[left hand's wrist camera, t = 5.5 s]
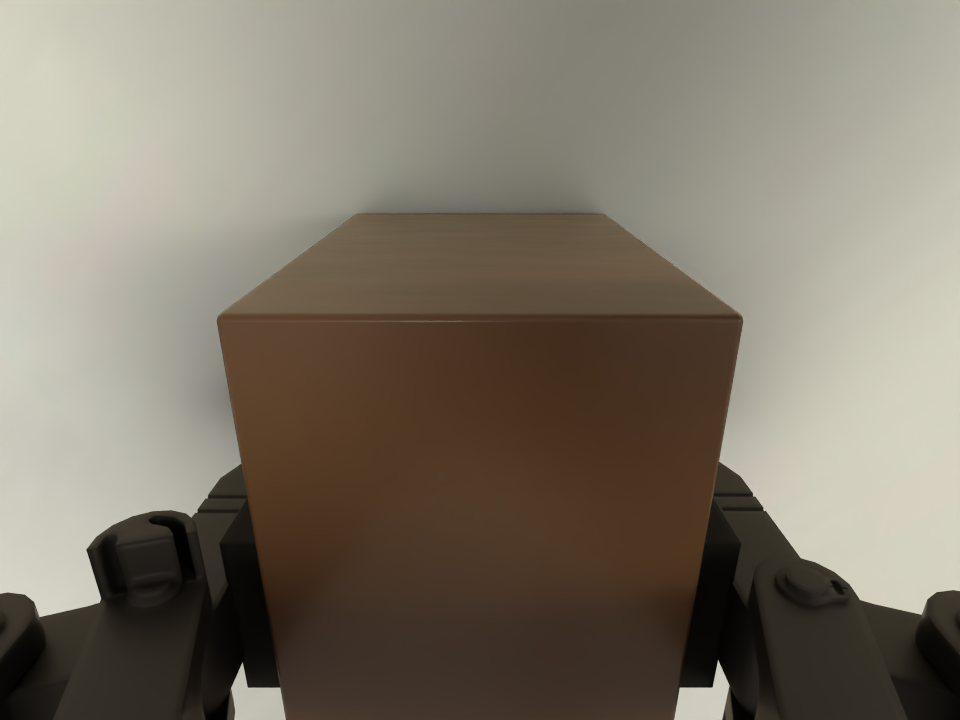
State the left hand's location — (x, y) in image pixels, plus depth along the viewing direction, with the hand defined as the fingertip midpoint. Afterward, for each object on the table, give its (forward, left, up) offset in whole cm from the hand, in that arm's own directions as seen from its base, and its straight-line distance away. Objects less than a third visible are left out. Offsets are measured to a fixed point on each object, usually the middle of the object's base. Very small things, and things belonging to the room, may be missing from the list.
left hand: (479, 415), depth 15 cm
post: (+32, +7, -1) cm, 32 cm away
